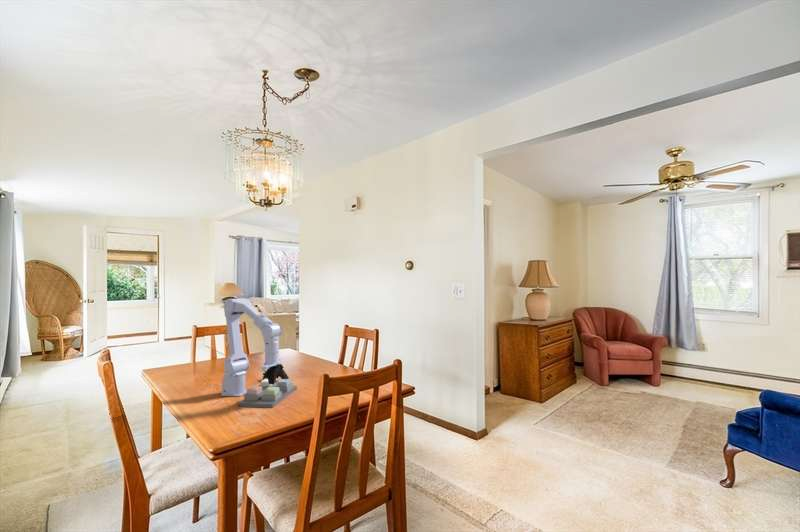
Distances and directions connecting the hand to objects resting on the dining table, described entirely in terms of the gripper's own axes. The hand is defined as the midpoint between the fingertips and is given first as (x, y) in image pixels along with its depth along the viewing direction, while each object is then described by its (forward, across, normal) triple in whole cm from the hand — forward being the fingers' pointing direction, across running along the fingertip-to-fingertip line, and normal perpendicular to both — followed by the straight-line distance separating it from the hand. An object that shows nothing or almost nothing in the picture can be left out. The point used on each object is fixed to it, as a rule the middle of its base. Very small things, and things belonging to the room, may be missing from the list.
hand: (271, 383), depth 159 cm
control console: (+8, +6, +4) cm, 11 cm away
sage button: (+5, 0, 0) cm, 5 cm away
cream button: (+4, +12, +8) cm, 15 cm away
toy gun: (+8, +31, +14) cm, 35 cm away
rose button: (+4, 0, +8) cm, 9 cm away
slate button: (+5, +12, 0) cm, 13 cm away
